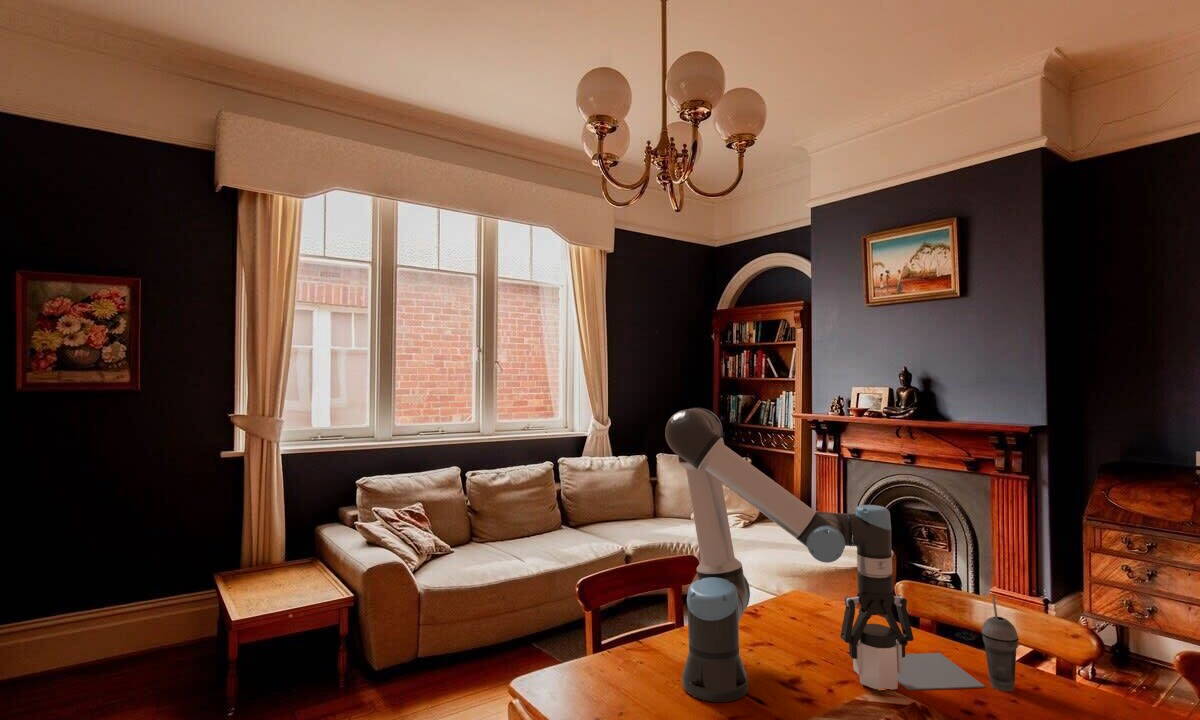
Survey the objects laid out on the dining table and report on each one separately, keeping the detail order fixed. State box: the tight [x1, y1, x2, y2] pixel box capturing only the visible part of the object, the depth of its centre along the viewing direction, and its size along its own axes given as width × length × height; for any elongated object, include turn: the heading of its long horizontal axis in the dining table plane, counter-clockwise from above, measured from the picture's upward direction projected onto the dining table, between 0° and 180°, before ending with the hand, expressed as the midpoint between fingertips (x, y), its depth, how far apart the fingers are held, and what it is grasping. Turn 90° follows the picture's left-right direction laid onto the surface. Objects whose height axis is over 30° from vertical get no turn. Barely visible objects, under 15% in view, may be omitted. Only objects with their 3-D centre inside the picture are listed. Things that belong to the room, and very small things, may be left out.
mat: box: [897, 652, 986, 691], centre depth 151 cm, size 18×18×1 cm
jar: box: [858, 623, 899, 691], centre depth 145 cm, size 9×8×12 cm
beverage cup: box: [981, 595, 1019, 692], centre depth 143 cm, size 7×7×20 cm
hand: (877, 671), depth 145 cm, fingers closed on jar, 9 cm apart
